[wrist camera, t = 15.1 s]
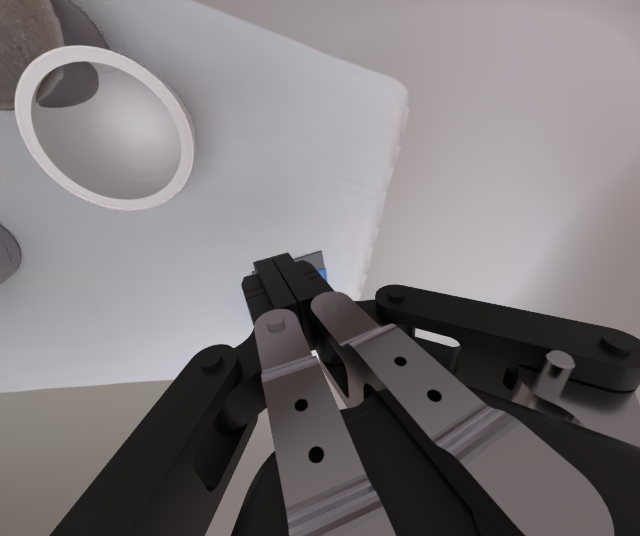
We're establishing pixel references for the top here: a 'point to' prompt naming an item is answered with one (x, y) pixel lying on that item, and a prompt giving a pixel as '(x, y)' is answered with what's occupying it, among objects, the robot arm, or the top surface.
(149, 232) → the top surface
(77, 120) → the jar
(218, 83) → the top surface
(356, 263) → the top surface
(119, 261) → the top surface
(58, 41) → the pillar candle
